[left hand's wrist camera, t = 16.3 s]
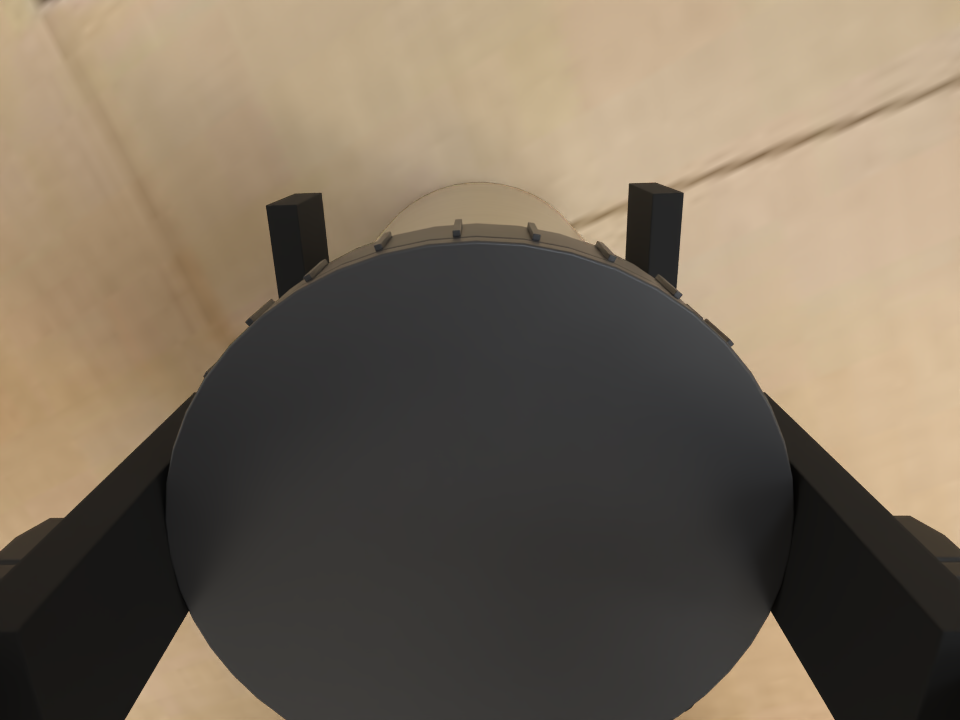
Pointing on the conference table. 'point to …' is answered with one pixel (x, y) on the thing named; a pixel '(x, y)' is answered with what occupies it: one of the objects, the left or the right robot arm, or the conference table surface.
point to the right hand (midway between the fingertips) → (474, 193)
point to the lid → (479, 488)
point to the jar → (480, 210)
